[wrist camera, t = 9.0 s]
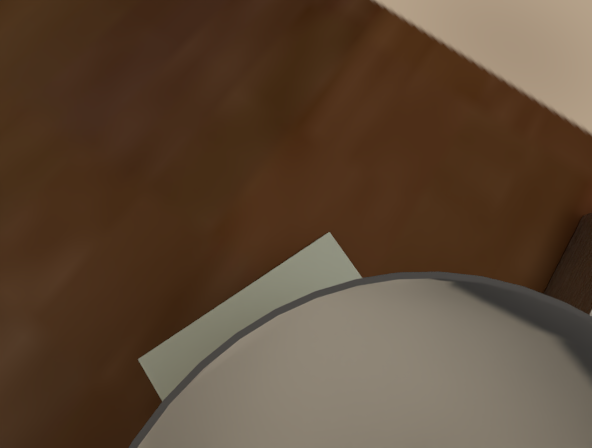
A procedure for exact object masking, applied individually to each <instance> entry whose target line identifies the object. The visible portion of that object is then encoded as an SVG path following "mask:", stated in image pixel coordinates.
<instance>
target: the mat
mask: <svg viewBox="0 0 592 448" xmlns="http://www.w3.org/2000/svg"><path fill="white" fill-rule="evenodd" d="M360 278H362V277H361V276H360V274H359V273H358V271H357V270H356V269H355V267H354V266H353V264H352V263H351V262H350V260H349V259H348V257H347V256H346V255H345V253H344V252H343V250H342V249H341V248H340V246H339V245H338V243H337V242H336V240H335V239H334V238H333V236H332V235H331V233H330V232H329V233H327V234H326V235H324V236H323V237H321V238H320V239H318V240H317V241H315V242H314V243H312V244H311V245H309V246H308V247H306V248H305V249H303V250H302V251H300V252H299V253H297V254H296V255H294V256H293V257H291V258H290V259H288V260H287V261H285V262H284V263H282V264H280V265H279V266H277V267H276V268H274V269H273V270H271V271H270V272H268V273H267V274H265V275H264V276H262V277H261V278H259V279H258V280H256V281H255V282H253V283H252V284H250V285H249V286H247V287H246V288H244V289H243V290H241V291H240V292H238V293H237V294H235V295H234V296H232V297H231V298H229V299H228V300H226V301H225V302H223V303H222V304H220V305H219V306H217V307H216V308H214V309H213V310H211V311H210V312H208V313H207V314H205V315H204V316H202V317H201V318H199V319H198V320H196V321H195V322H193V323H192V324H190V325H189V326H187V327H186V328H184V329H183V330H181V331H180V332H178V333H177V334H175V335H174V336H172V337H171V338H169V339H168V340H166V341H165V342H163V343H162V344H160V345H159V346H157V347H156V348H154V349H153V350H151V351H150V352H148V353H147V354H145V355H144V356H142V357H141V358H139V359H138V360H139V362H140V364H141V366H142V367H143V369H144V371H145V372H146V374H147V376H148V378H149V379H150V381H151V383H152V384H153V386H154V388H155V390H156V391H157V393H158V395H159V397H160V398H161V400H162V402H163V400H164V399H165V398H166V397H167V396H168V395H169V394H170V393H171V392H172V391H173V390H174V389H175V387H176V386H177V385H178V384H179V383H180V382H181V381H182V380H183V379H184V378H185V377H186V376H187V375H188V374H189V373H190V372H191V371H192V370H193V369H194V368H195V367H196V366H197V365H198V364H199V363H200V362H201V361H202V360H203V359H205V358H206V357H207V356H208V355H210V354H211V353H212V352H213V351H215V350H216V349H217V348H218V347H219V346H221V345H222V344H223V343H224V342H226V341H227V340H228V339H229V338H231V337H232V336H233V335H234V334H236V333H237V332H239V331H240V330H242V329H244V328H245V327H247V326H248V325H250V324H252V323H253V322H255V321H257V320H258V319H260V318H261V317H263V316H265V315H266V314H268V313H270V312H271V311H273V310H274V309H277V308H279V307H281V306H283V305H285V304H288V303H290V302H292V301H294V300H297V299H299V298H301V297H303V296H306V295H308V294H310V293H312V292H314V291H318V290H321V289H324V288H328V287H331V286H334V285H338V284H341V283H345V282H348V281H351V280H355V279H360Z"/></svg>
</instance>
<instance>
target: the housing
mask: <svg viewBox="0 0 592 448" xmlns="http://www.w3.org/2000/svg"><path fill="white" fill-rule="evenodd" d="M544 294H545V295H547V296H550V297H553V298H555V299H558V300H561V301H563V302H565V303H567V304H569V305H571V306H573V307H575V308H577V309H579V310H581V311H583V312H585V313H587V314H588V315H590V316H592V213H589V214H586V215H584V216H583V217H582V219H581V221H580V223H579V225H578V227H577V229H576V231H575V233H574V235H573V237H572V239H571V241H570V243H569V245H568V247H567V249H566V251H565V253H564V255H563V257H562V259H561V260H560V262H559V264H558V266H557V268H556V270H555V272H554V274H553V276H552V278H551V280H550V282H549V284H548V286H547V288H546V290H545V292H544Z"/></svg>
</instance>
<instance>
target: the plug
mask: <svg viewBox="0 0 592 448" xmlns="http://www.w3.org/2000/svg"><path fill="white" fill-rule="evenodd" d="M129 448H592V316H590V315H588V314H587V313H585V312H583V311H581V310H579V309H577V308H575V307H573V306H571V305H569V304H567V303H565V302H563V301H561V300H558V299H555V298H553V297H550V296H547V295H545V294H542V293H539V292H537V291H534V290H531V289H529V288H526V287H524V286H519V285H515V284H511V283H507V282H503V281H499V280H495V279H491V278H486V277H482V276H474V275H465V274H456V273H447V272H404V273H392V274H386V275H379V276H373V277H366V278H360V279H355V280H351V281H348V282H345V283H341V284H338V285H334V286H331V287H328V288H324V289H321V290H318V291H314V292H312V293H310V294H308V295H306V296H303V297H301V298H299V299H297V300H294V301H292V302H290V303H288V304H285V305H283V306H281V307H279V308H277V309H274V310H273V311H271V312H270V313H268V314H266V315H265V316H263V317H261V318H260V319H258V320H257V321H255V322H253V323H252V324H250V325H248V326H247V327H245V328H244V329H242V330H240V331H239V332H237V333H236V334H234V335H233V336H232V337H231V338H229V339H228V340H227V341H226V342H224V343H223V344H222V345H221V346H219V347H218V348H217V349H216V350H215V351H213V352H212V353H211V354H210V355H208V356H207V357H206V358H205V359H203V360H202V361H201V362H200V363H199V364H198V365H197V366H196V367H195V368H194V369H193V370H192V371H191V372H190V373H189V374H188V375H187V376H186V377H185V378H184V379H183V380H182V381H181V382H180V383H179V384H178V385H177V386H176V387H175V389H174V390H173V391H172V392H171V393H170V394H169V395H168V396H167V397H166V398H165V399H164V400H163V402H162V403H161V404H160V405H159V407H158V408H157V409H156V411H155V412H154V413H153V415H152V416H151V417H150V419H149V420H148V421H147V423H146V424H145V425H144V427H143V428H142V429H141V431H140V432H139V433H138V435H137V436H136V437H135V439H134V440H133V441H132V443H131V445H130V446H129Z"/></svg>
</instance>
